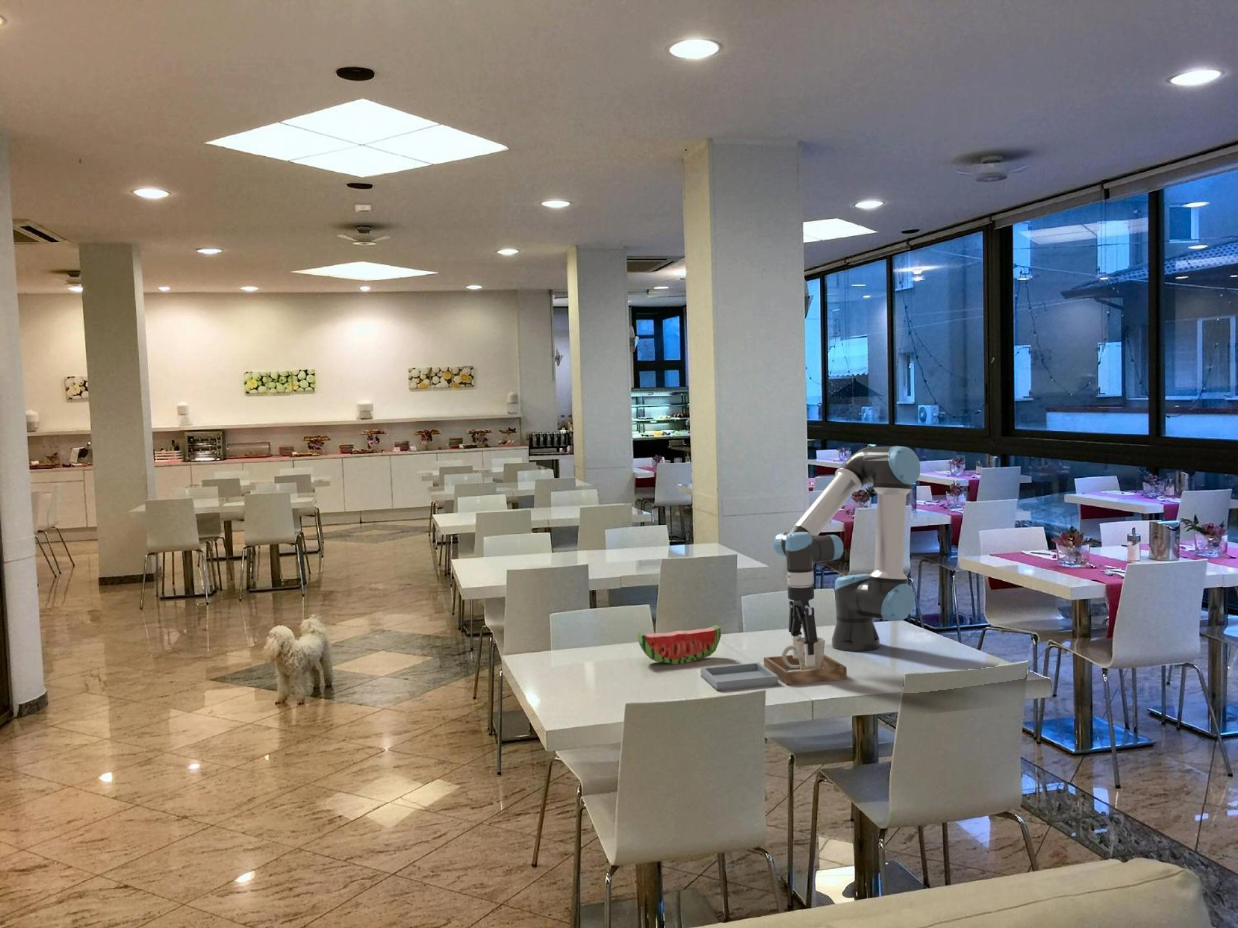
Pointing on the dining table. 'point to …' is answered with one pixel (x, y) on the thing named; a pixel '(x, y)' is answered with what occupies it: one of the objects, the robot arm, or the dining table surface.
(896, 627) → the dining table surface
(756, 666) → the tray
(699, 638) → the fruit slice
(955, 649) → the dining table surface
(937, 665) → the dining table surface
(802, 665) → the mug
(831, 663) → the corral
